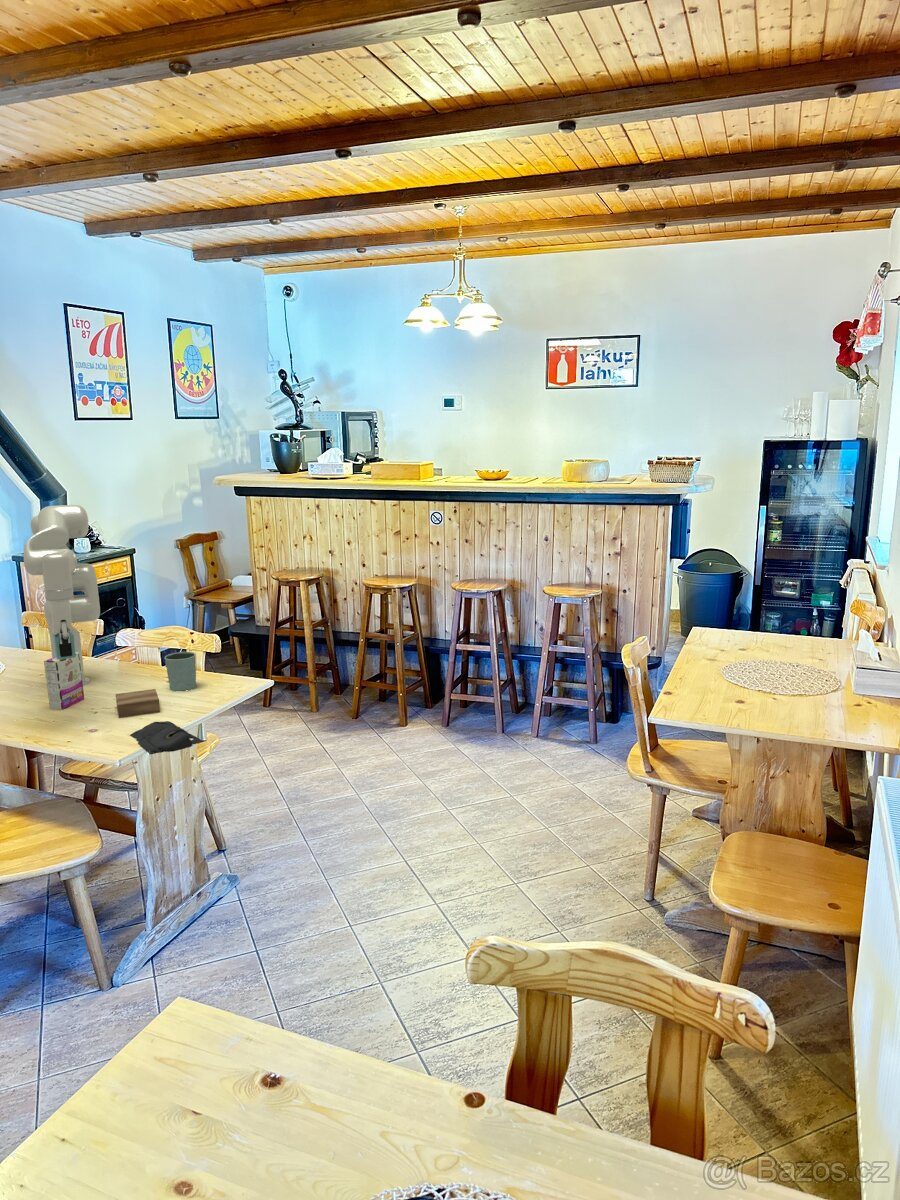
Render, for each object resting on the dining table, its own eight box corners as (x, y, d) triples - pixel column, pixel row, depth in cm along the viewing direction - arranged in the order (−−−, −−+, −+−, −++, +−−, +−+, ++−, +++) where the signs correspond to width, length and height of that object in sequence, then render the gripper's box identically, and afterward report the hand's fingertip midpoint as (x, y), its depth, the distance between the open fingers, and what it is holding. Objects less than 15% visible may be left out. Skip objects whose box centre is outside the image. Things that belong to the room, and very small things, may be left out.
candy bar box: (71, 699, 264) (66, 651, 261) (85, 699, 263) (80, 652, 260) (48, 710, 253) (43, 660, 250) (62, 711, 252) (57, 661, 249)
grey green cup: (201, 690, 272) (198, 656, 270) (170, 695, 267) (167, 660, 265) (193, 682, 281) (191, 650, 279) (164, 687, 276) (161, 654, 274)
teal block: (55, 655, 240) (53, 633, 239) (74, 653, 242) (71, 631, 241) (57, 659, 236) (54, 636, 234) (75, 657, 238) (73, 634, 237)
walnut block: (116, 708, 255) (115, 694, 254) (156, 703, 260) (155, 688, 259) (119, 720, 245) (117, 705, 244) (160, 714, 250) (159, 699, 249)
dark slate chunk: (176, 726, 240) (175, 711, 239) (206, 747, 223) (205, 731, 222) (124, 738, 230) (123, 722, 229) (151, 761, 214) (150, 744, 213)
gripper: (43, 591, 241) (49, 649, 244) (47, 601, 226) (53, 662, 230) (70, 588, 244) (76, 645, 248) (76, 598, 230) (82, 659, 234)
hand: (65, 653), depth 239 cm, fingers closed on teal block, 5 cm apart
